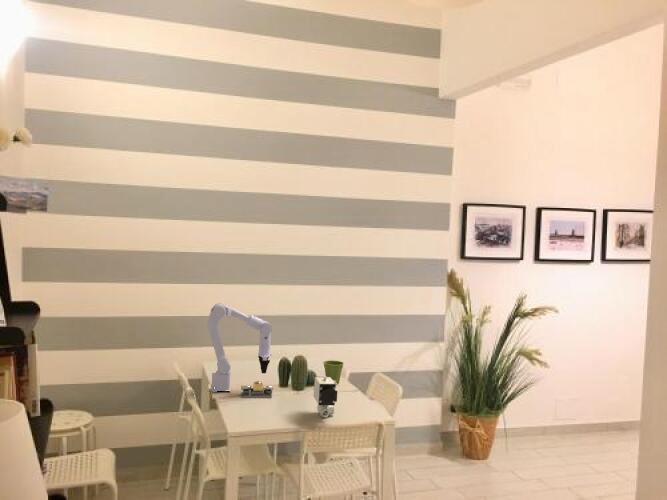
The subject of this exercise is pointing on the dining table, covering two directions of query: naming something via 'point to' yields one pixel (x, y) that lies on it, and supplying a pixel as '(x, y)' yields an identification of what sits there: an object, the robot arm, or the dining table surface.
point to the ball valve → (325, 395)
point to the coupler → (257, 386)
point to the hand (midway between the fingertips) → (263, 371)
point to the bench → (250, 394)
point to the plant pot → (333, 369)
